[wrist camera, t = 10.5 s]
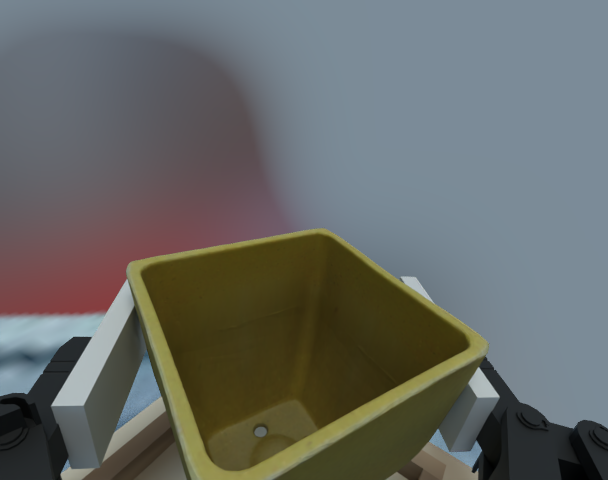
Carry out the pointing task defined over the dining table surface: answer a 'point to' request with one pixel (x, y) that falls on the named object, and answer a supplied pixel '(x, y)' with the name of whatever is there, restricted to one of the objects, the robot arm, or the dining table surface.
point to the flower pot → (297, 359)
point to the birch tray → (169, 470)
